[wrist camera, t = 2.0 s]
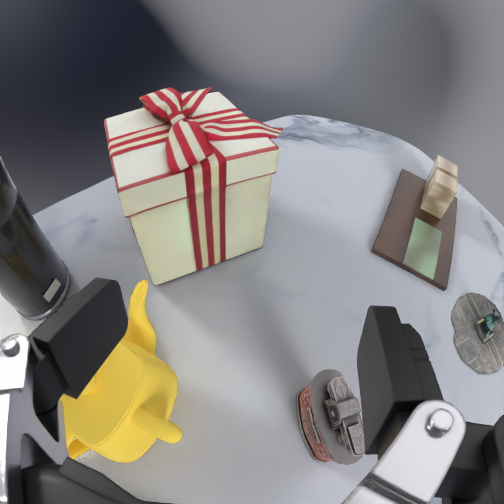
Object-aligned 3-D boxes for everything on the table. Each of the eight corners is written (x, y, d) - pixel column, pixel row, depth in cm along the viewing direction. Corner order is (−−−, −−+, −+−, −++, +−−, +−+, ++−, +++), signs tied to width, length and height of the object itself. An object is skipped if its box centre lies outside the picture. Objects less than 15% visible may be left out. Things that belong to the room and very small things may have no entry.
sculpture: (463, 280, 37) (510, 276, 30) (471, 325, 39) (514, 324, 32) (440, 340, 31) (498, 341, 24) (449, 384, 33) (499, 388, 26)
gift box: (292, 235, 40) (315, 116, 26) (158, 298, 33) (112, 180, 20) (228, 164, 48) (228, 64, 34) (119, 206, 42) (87, 103, 28)
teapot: (66, 347, 29) (16, 306, 21) (169, 325, 32) (145, 274, 23) (85, 466, 21) (26, 463, 13) (203, 449, 24) (185, 450, 16)
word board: (370, 252, 39) (389, 217, 33) (401, 171, 50) (413, 142, 45) (444, 291, 35) (470, 262, 30) (455, 200, 47) (471, 173, 41)
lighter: (289, 392, 28) (311, 366, 20) (321, 384, 28) (354, 354, 20) (310, 466, 23) (342, 472, 15) (342, 455, 24) (387, 454, 16)
